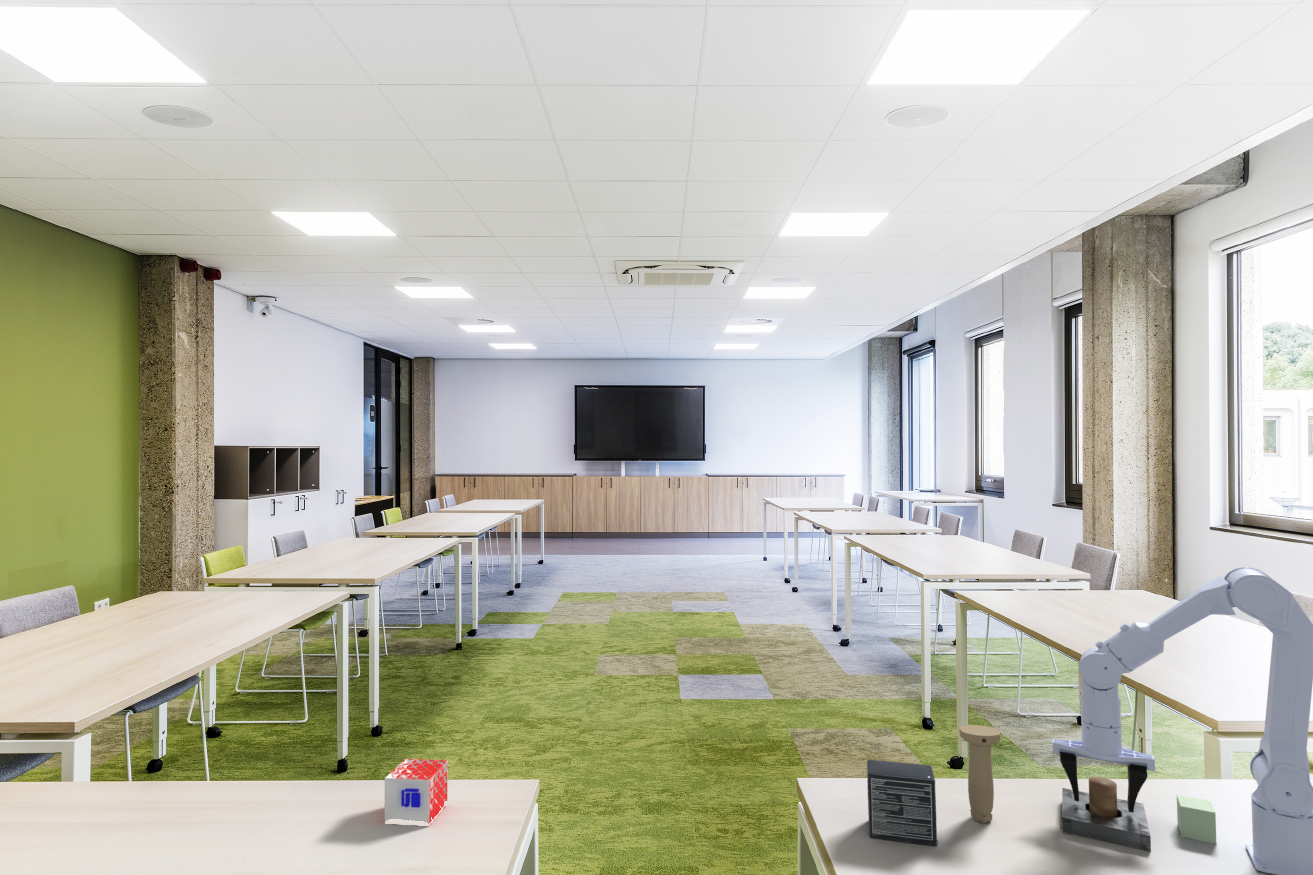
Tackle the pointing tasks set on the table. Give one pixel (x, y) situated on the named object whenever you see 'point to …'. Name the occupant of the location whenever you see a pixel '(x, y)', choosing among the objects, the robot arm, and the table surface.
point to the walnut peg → (1103, 797)
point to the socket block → (1105, 822)
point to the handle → (980, 769)
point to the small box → (902, 802)
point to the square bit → (1196, 819)
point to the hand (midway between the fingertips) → (1103, 804)
